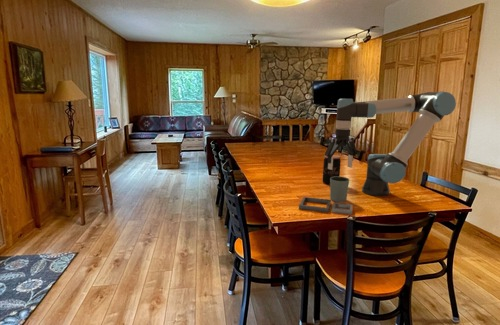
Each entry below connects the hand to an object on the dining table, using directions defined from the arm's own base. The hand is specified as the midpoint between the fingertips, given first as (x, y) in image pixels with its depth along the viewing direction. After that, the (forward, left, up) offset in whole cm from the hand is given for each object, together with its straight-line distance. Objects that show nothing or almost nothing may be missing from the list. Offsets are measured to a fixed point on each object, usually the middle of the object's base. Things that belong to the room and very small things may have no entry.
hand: (340, 168), depth 168 cm
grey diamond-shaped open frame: (-3, +16, -18) cm, 24 cm away
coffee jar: (+7, -34, -18) cm, 39 cm away
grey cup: (0, 0, -18) cm, 18 cm away
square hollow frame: (+10, +15, -18) cm, 25 cm away
